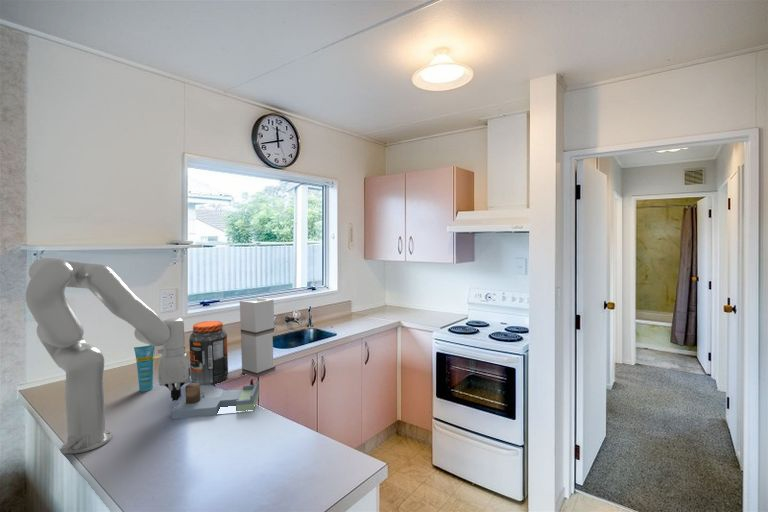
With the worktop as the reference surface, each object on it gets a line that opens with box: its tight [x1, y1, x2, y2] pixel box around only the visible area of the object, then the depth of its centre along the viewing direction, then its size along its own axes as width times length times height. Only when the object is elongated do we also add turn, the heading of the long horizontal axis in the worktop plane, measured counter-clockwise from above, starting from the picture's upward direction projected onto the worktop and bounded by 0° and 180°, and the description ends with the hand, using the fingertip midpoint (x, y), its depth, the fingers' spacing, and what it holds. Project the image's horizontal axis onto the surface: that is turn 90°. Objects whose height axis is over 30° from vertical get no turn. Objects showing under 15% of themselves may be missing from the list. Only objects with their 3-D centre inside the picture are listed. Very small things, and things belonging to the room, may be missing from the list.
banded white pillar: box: [239, 297, 276, 378], centre depth 182 cm, size 11×11×35 cm
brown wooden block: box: [184, 382, 201, 404], centre depth 144 cm, size 5×5×6 cm
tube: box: [133, 344, 155, 392], centre depth 162 cm, size 7×5×19 cm, turn 123°
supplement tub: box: [188, 320, 229, 385], centre depth 173 cm, size 16×16×26 cm
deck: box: [171, 380, 260, 420], centre depth 145 cm, size 15×28×6 cm, turn 101°
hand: (176, 399), depth 143 cm, fingers closed
